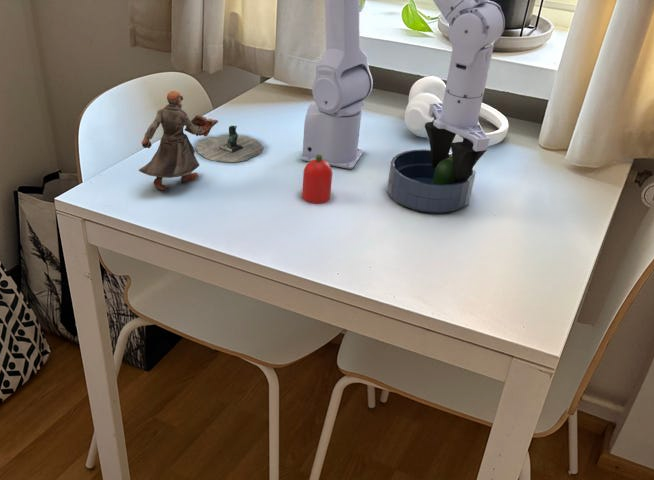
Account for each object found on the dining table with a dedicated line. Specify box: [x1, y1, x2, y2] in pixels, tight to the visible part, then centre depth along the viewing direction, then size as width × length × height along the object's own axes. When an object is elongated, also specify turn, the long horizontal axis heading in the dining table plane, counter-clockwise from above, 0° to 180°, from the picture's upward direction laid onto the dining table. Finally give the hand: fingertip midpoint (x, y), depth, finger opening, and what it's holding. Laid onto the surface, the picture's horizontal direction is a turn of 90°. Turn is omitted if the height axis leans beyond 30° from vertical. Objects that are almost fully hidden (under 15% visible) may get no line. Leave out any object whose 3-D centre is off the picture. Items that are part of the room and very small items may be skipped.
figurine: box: [138, 90, 219, 191], centre depth 118 cm, size 14×7×15 cm, turn 110°
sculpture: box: [194, 125, 265, 163], centre depth 135 cm, size 12×9×8 cm
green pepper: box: [433, 153, 453, 185], centre depth 121 cm, size 5×5×7 cm
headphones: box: [404, 75, 510, 147], centre depth 144 cm, size 20×8×20 cm
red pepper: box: [301, 155, 333, 204], centre depth 119 cm, size 5×5×7 cm
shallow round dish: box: [386, 148, 477, 214], centre depth 122 cm, size 14×14×5 cm
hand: (447, 175), depth 121 cm, fingers open, 6 cm apart
